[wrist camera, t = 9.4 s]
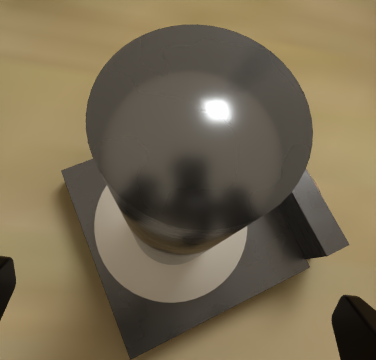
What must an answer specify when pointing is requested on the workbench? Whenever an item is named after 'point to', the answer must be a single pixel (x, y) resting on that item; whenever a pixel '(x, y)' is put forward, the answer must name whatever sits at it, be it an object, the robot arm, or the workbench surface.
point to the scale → (239, 278)
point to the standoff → (196, 136)
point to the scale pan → (154, 271)
